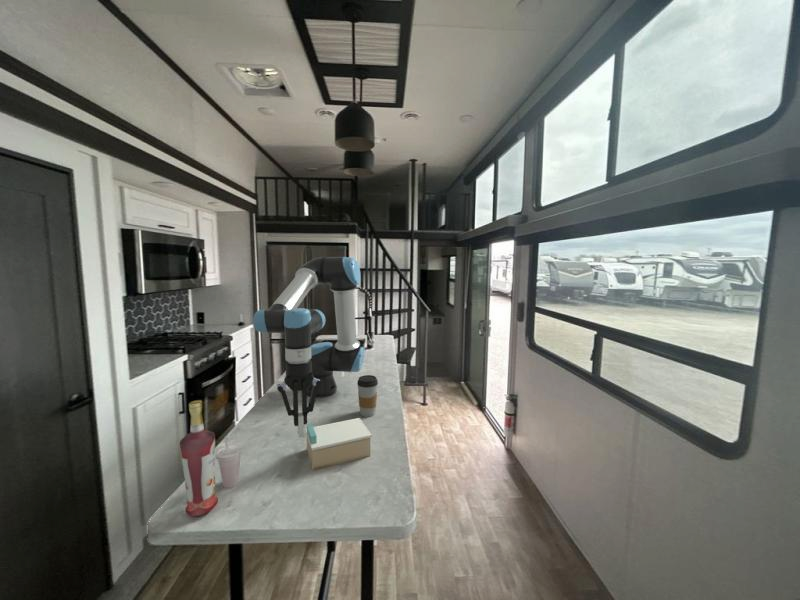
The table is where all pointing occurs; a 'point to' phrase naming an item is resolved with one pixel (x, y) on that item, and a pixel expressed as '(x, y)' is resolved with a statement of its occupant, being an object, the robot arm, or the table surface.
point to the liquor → (199, 464)
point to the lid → (336, 433)
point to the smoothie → (229, 464)
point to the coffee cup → (367, 395)
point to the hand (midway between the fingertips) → (300, 434)
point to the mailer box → (338, 453)
